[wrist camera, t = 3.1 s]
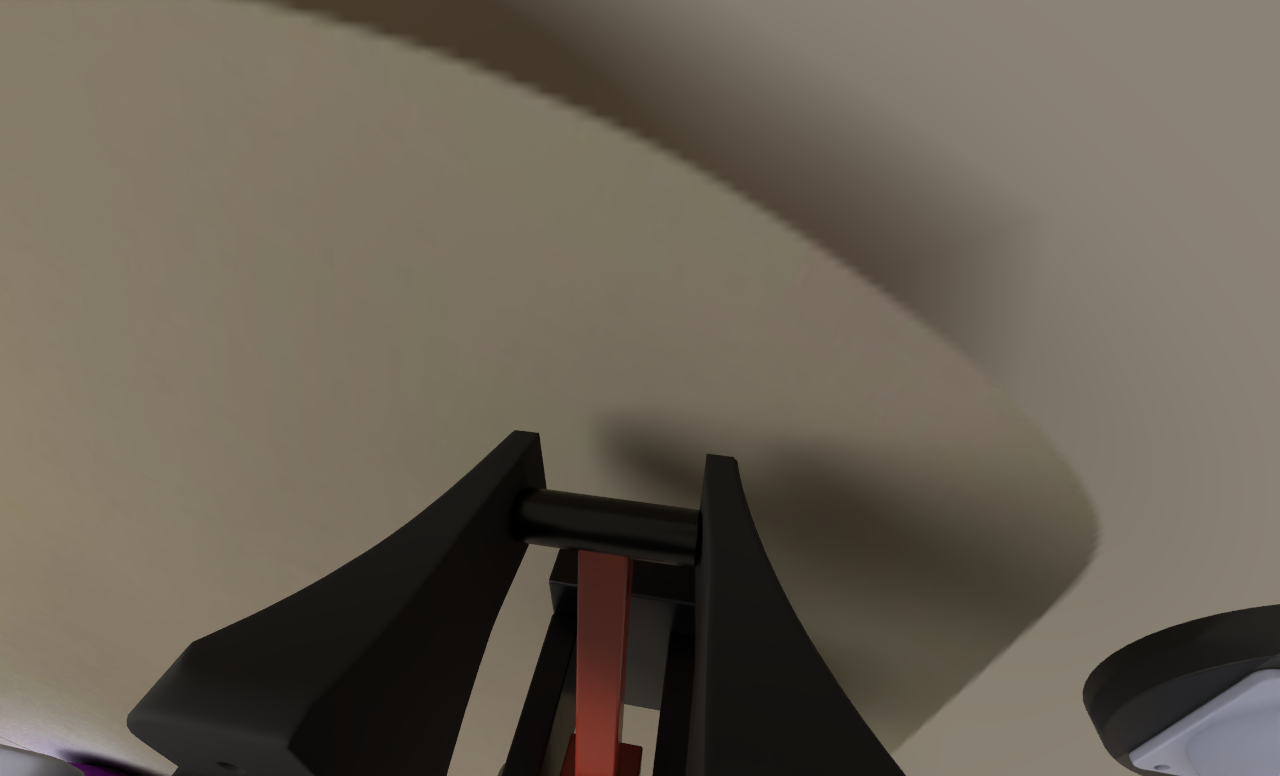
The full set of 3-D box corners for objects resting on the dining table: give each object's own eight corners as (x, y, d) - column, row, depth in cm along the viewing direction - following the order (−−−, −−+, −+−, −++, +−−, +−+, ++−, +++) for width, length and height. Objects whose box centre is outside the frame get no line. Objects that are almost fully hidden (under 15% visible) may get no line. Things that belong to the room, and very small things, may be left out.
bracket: (546, 540, 18) (439, 829, 11) (722, 566, 17) (710, 890, 11) (564, 655, 22) (494, 903, 16) (701, 680, 22) (685, 948, 15)
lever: (537, 463, 12) (496, 523, 10) (704, 485, 12) (700, 553, 10) (544, 784, 17) (516, 876, 14) (665, 811, 16) (656, 908, 14)
